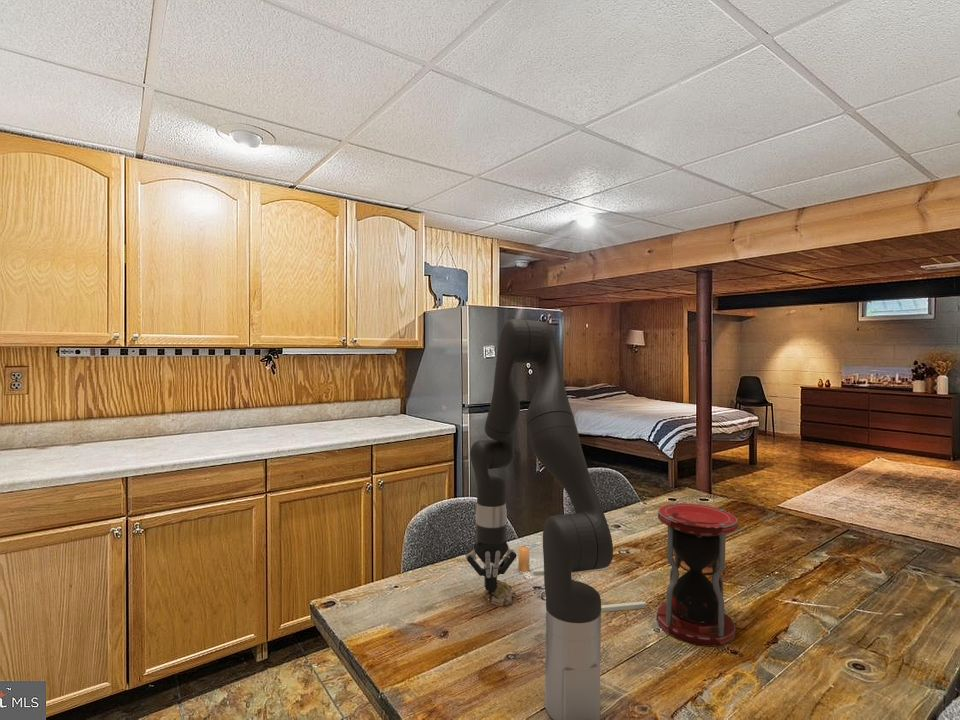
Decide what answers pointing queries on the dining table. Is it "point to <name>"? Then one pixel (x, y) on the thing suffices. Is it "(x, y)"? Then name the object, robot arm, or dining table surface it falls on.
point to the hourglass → (696, 574)
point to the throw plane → (524, 567)
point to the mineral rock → (500, 594)
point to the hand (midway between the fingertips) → (490, 590)
